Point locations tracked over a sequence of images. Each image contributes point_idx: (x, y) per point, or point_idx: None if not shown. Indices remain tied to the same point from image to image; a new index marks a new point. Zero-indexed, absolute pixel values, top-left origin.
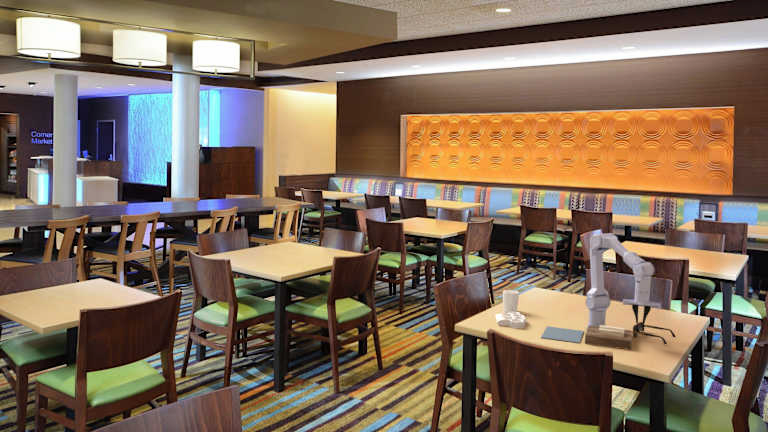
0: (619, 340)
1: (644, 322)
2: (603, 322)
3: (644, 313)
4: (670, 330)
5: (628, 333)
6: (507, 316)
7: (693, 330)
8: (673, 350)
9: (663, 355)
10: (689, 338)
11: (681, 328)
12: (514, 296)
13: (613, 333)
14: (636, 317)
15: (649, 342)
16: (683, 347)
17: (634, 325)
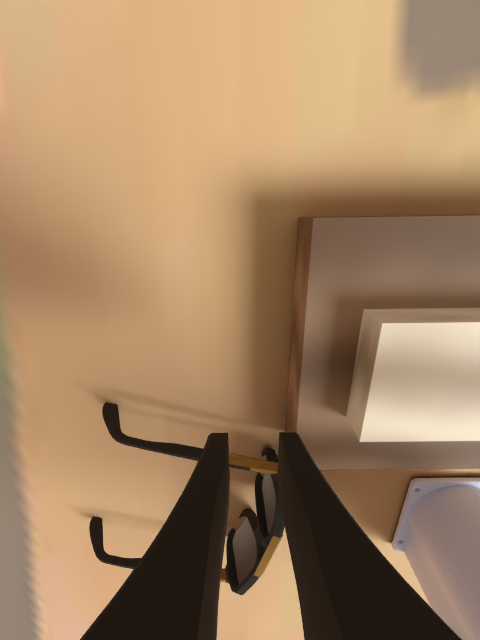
0: (406, 216)
1: (205, 447)
2: (447, 538)
3: (188, 599)
4: (101, 555)
5: (319, 410)
6: None
7: (51, 608)
8: (54, 326)
9: (84, 185)
10: (37, 527)
11: (94, 612)
12: None
13: (456, 315)
14: (321, 493)
15: (193, 408)
16: (23, 401)
17: (279, 537)
